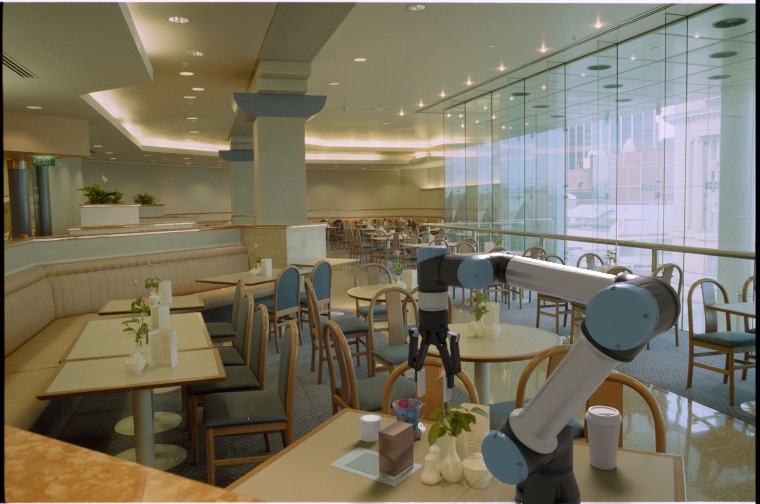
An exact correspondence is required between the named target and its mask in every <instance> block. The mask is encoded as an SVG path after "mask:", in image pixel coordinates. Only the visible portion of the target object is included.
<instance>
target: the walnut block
mask: <svg viewBox="0 0 760 504" xmlns="http://www.w3.org/2000/svg"><path fill="white" fill-rule="evenodd" d="M378 452H379V476H382V477H385V478H388V479H391V480H394V481H395V480H397V479H398V478H400V477H401V476H402V475H404V474H405V473H407V472H408V471H409V470H411V469H412V468H414V463H415V462H414V461H415V460H414V440H413V424H409V423H404V422H400V421H397V420H396V421H395V422H393V423H391V424H389V425H388V426H386V427H383V428H381V430H380V431H379V432H378Z"/></svg>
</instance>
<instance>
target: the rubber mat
mask: <svg viewBox="0 0 760 504" xmlns="http://www.w3.org/2000/svg"><path fill="white" fill-rule="evenodd" d="M328 466H330V467H333V468H337V469H340V470H342V471H347V472H349V473H352V474H356V475H358V476H360V477H361V476H362V477H364V478H367V479H370V480H372V481H373V480H374V481H377V482H379V483H383V484H385V485H388V486H392V487H395V486H397V485H398V484H400V483H401V482H402V481H404V480H405V479H406V478H408V477H409V476H411V475H412V474H413V473H415V472H416V471H418V470H419V469H421V468H422V467H423V466H424V465H423V464H420V463H416V462H414V468H412V469H411V470H409V471H408V472H407V473H405V474H404V475H402V476H401V477H400V478H398V479H397V480H395V481H394V480H391V479H388V478H385V477H382V476H379V451H375V450H372V449H368V448H365V447H362V446H361V447H360V446H359V447H357V448H355V449H353V450H352V451H350V452H348V453H347V454H344V455H343V456H341V457H339V458H337V459H336V460H334V461H333V462H331V463H329V464H328Z"/></svg>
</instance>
